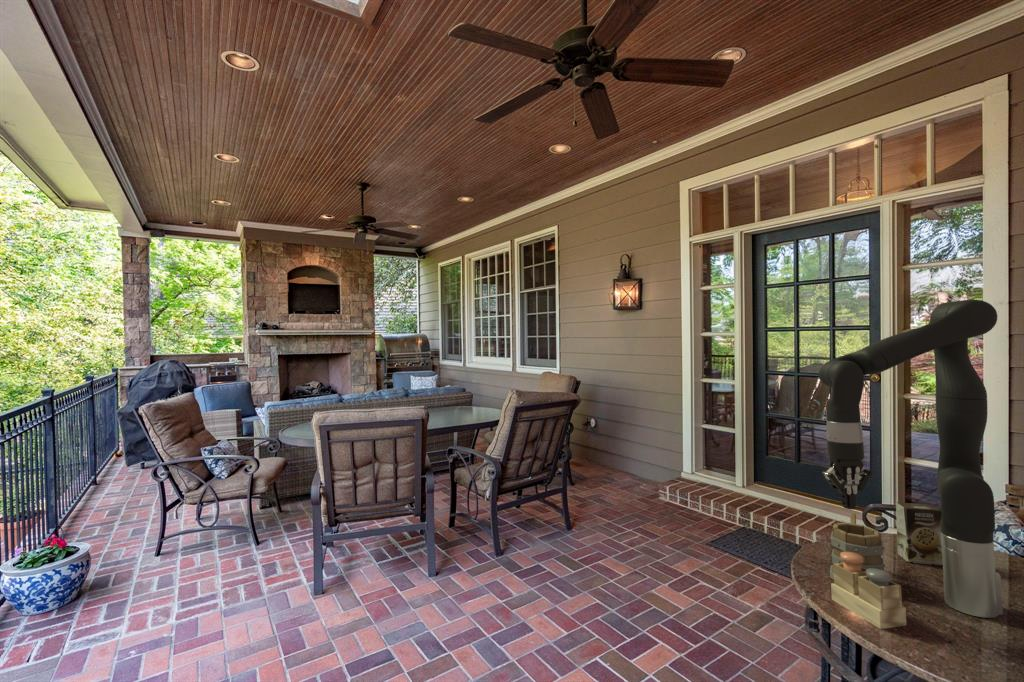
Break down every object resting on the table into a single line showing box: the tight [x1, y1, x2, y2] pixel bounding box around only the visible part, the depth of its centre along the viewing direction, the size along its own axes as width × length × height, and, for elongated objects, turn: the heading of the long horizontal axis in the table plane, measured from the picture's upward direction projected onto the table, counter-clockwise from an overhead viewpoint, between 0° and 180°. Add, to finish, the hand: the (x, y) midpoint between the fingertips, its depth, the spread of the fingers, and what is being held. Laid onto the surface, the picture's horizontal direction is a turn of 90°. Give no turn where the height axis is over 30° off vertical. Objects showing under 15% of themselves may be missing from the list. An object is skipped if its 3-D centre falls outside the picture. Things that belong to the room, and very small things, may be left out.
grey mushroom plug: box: [866, 568, 892, 587], centre depth 108 cm, size 5×5×7 cm
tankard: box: [829, 512, 886, 581], centre depth 129 cm, size 20×13×15 cm, turn 143°
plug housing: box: [830, 563, 907, 630], centre depth 111 cm, size 7×13×9 cm, turn 9°
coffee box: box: [895, 501, 943, 566], centre depth 138 cm, size 9×6×16 cm
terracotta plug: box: [840, 552, 863, 573], centre depth 115 cm, size 5×5×7 cm
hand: (849, 508), depth 115 cm, fingers closed
